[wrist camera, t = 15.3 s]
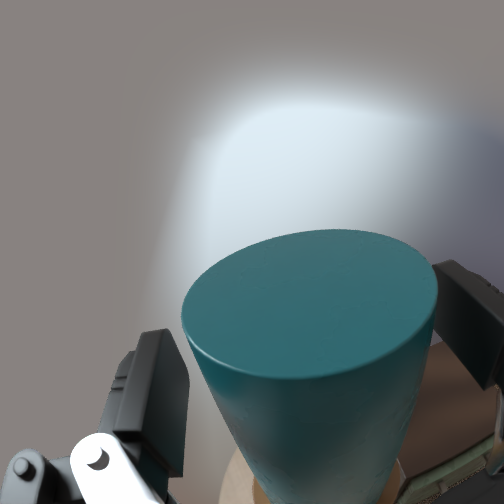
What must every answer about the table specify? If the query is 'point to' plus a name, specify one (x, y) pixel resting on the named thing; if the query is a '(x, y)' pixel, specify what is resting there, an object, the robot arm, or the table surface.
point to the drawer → (447, 473)
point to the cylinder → (316, 357)
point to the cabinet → (445, 416)
